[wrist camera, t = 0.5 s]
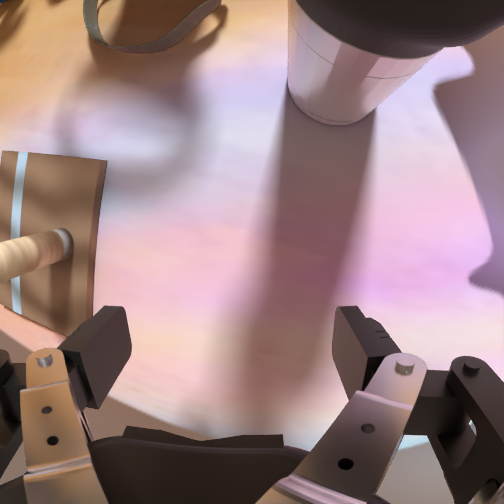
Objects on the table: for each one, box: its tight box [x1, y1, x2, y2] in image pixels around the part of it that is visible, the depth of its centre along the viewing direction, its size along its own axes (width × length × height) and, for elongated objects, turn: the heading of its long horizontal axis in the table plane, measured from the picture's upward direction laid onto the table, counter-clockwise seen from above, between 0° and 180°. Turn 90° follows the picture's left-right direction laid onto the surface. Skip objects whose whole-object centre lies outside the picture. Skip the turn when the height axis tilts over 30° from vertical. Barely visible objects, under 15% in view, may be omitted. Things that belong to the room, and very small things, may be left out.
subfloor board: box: [0, 151, 107, 336], centre depth 33 cm, size 22×18×2 cm
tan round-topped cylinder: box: [0, 228, 74, 283], centre depth 27 cm, size 4×4×11 cm
